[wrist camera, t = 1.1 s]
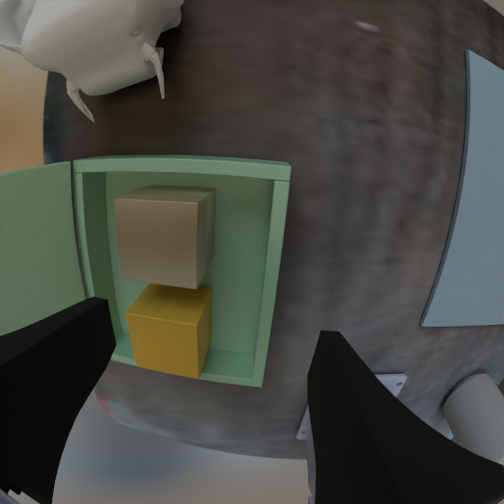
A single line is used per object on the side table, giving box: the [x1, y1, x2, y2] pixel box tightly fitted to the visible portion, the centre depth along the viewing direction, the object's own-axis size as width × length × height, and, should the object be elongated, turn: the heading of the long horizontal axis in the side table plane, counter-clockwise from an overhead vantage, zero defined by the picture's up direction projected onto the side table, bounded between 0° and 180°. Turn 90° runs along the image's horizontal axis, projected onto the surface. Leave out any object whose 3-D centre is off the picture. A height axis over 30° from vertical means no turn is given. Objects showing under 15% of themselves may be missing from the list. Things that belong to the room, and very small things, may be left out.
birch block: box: [114, 185, 216, 289], centre depth 14 cm, size 4×4×4 cm
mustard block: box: [126, 283, 212, 379], centre depth 16 cm, size 4×4×4 cm
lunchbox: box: [73, 155, 291, 387], centre depth 16 cm, size 11×13×3 cm
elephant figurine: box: [0, 0, 184, 123], centre depth 8 cm, size 10×12×9 cm
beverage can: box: [443, 374, 504, 466], centre depth 16 cm, size 6×6×12 cm
